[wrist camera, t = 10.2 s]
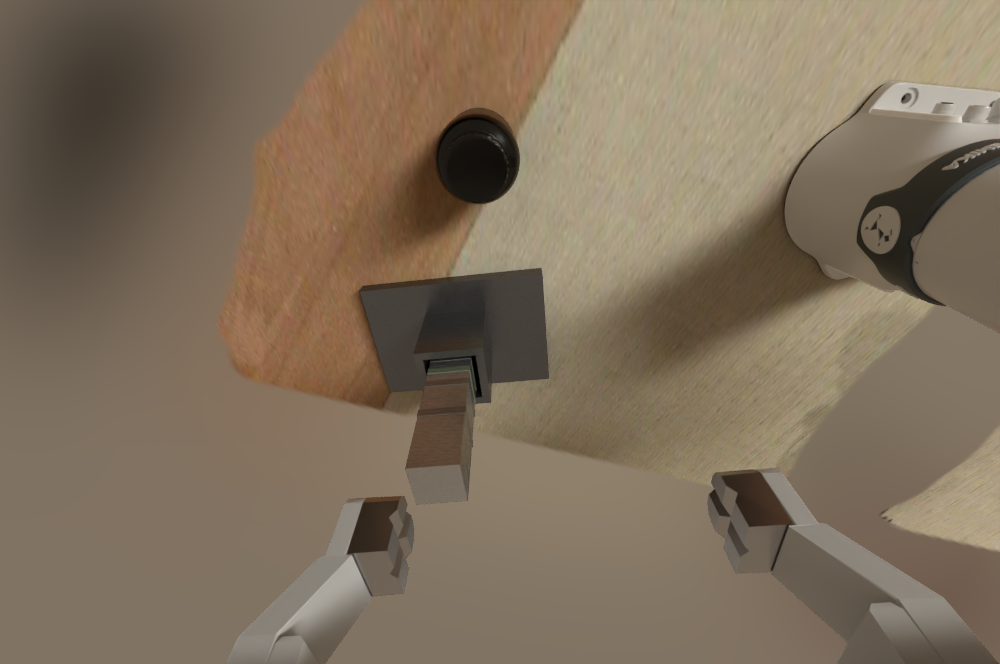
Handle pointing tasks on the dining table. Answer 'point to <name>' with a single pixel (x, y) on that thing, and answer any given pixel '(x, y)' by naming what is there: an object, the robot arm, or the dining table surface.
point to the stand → (460, 327)
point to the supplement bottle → (477, 156)
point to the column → (444, 433)
